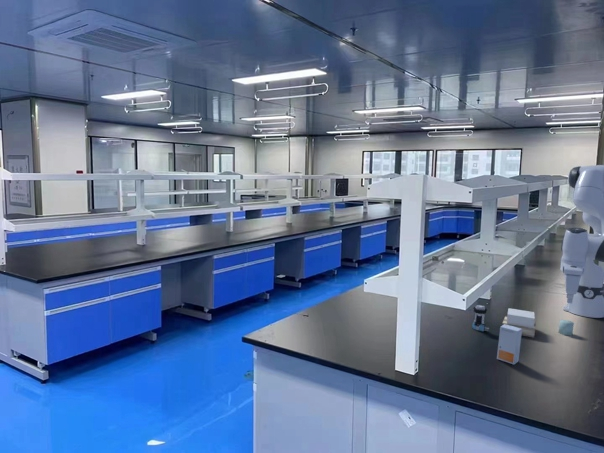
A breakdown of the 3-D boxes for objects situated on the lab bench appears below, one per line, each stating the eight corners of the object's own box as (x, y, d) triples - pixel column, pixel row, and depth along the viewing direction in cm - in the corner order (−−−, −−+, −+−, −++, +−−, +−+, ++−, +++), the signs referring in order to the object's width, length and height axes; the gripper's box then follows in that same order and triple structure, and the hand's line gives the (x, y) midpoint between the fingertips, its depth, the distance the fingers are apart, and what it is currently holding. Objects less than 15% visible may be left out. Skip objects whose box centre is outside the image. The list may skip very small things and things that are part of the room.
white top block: (507, 317, 192) (508, 308, 192) (533, 321, 188) (534, 312, 187) (506, 323, 183) (507, 314, 183) (533, 328, 179) (534, 318, 178)
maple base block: (504, 324, 194) (505, 315, 194) (535, 330, 188) (536, 321, 188) (501, 332, 184) (502, 323, 183) (533, 338, 178) (535, 329, 177)
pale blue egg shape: (558, 330, 188) (559, 319, 187) (572, 333, 185) (573, 321, 185) (558, 334, 184) (559, 322, 183) (572, 336, 181) (573, 324, 181)
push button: (490, 330, 184) (492, 307, 183) (486, 333, 180) (488, 309, 179) (474, 326, 188) (476, 303, 187) (469, 329, 184) (471, 306, 183)
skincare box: (496, 359, 154) (499, 326, 153) (501, 356, 157) (504, 323, 156) (514, 365, 150) (517, 331, 149) (519, 361, 153) (522, 328, 152)
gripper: (563, 263, 192) (560, 294, 193) (564, 270, 174) (560, 304, 175) (580, 265, 189) (577, 296, 190) (583, 272, 171) (579, 307, 172)
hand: (569, 300), depth 183 cm, fingers open, 8 cm apart
